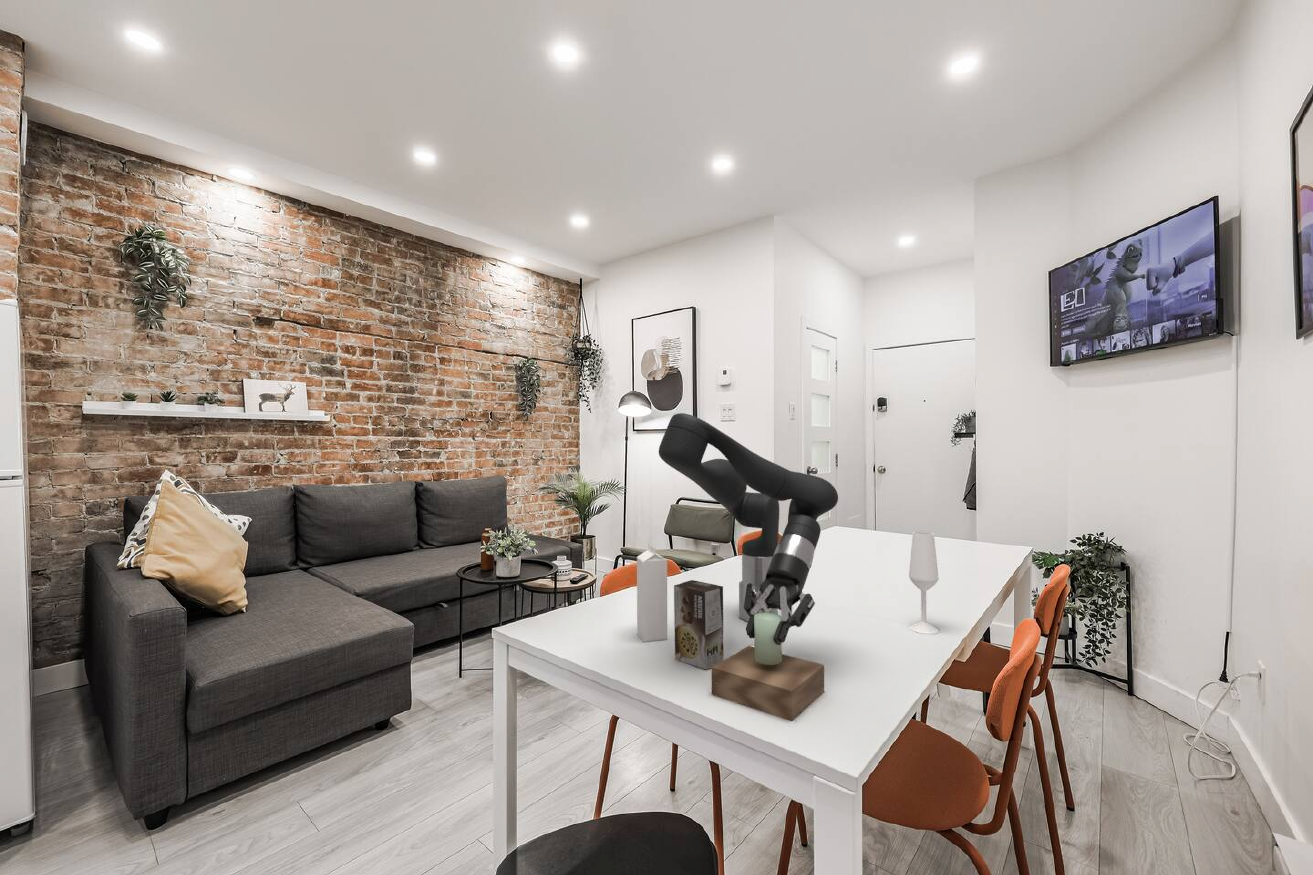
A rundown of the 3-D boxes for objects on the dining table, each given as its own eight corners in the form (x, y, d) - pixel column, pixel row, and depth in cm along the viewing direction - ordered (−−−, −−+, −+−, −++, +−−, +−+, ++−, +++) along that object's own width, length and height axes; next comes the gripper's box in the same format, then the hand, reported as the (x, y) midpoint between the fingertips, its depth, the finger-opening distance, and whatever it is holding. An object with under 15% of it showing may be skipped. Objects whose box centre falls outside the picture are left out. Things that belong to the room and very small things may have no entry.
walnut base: (711, 694, 104) (711, 667, 104) (748, 670, 115) (748, 645, 115) (791, 720, 94) (791, 690, 94) (824, 691, 105) (824, 664, 105)
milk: (643, 642, 131) (642, 548, 131) (636, 634, 137) (636, 543, 137) (668, 639, 133) (667, 546, 133) (660, 631, 138) (659, 542, 138)
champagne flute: (934, 635, 135) (933, 536, 135) (905, 629, 139) (904, 533, 139) (942, 628, 140) (941, 532, 140) (914, 623, 144) (913, 529, 144)
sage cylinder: (749, 660, 104) (749, 617, 104) (762, 652, 108) (762, 610, 108) (774, 666, 101) (773, 622, 101) (786, 658, 105) (786, 615, 105)
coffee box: (725, 661, 119) (724, 586, 119) (705, 670, 115) (705, 591, 115) (692, 650, 126) (692, 578, 126) (673, 658, 121) (672, 584, 121)
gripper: (753, 547, 115) (722, 621, 105) (820, 556, 106) (793, 637, 96) (765, 568, 119) (736, 641, 110) (831, 578, 110) (806, 658, 101)
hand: (763, 639), depth 103 cm, fingers closed on sage cylinder, 5 cm apart
